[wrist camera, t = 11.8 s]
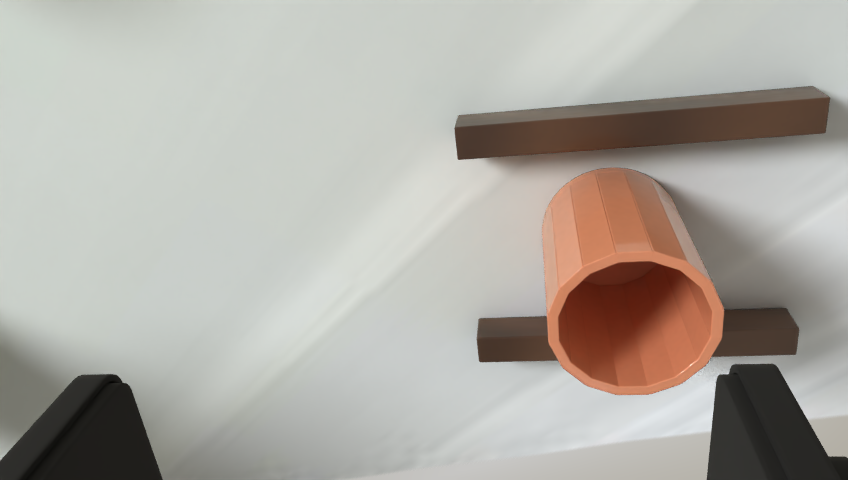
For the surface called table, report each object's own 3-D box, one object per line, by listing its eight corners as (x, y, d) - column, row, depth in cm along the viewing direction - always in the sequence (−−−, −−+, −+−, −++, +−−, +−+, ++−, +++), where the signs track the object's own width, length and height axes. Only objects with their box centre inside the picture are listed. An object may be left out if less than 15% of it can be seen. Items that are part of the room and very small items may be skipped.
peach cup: (545, 289, 38) (551, 396, 30) (538, 172, 35) (543, 256, 27) (675, 283, 36) (718, 393, 28) (680, 162, 34) (729, 247, 26)
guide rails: (480, 341, 40) (479, 363, 38) (457, 115, 34) (454, 127, 32) (783, 333, 37) (796, 355, 35) (813, 85, 31) (830, 97, 29)
